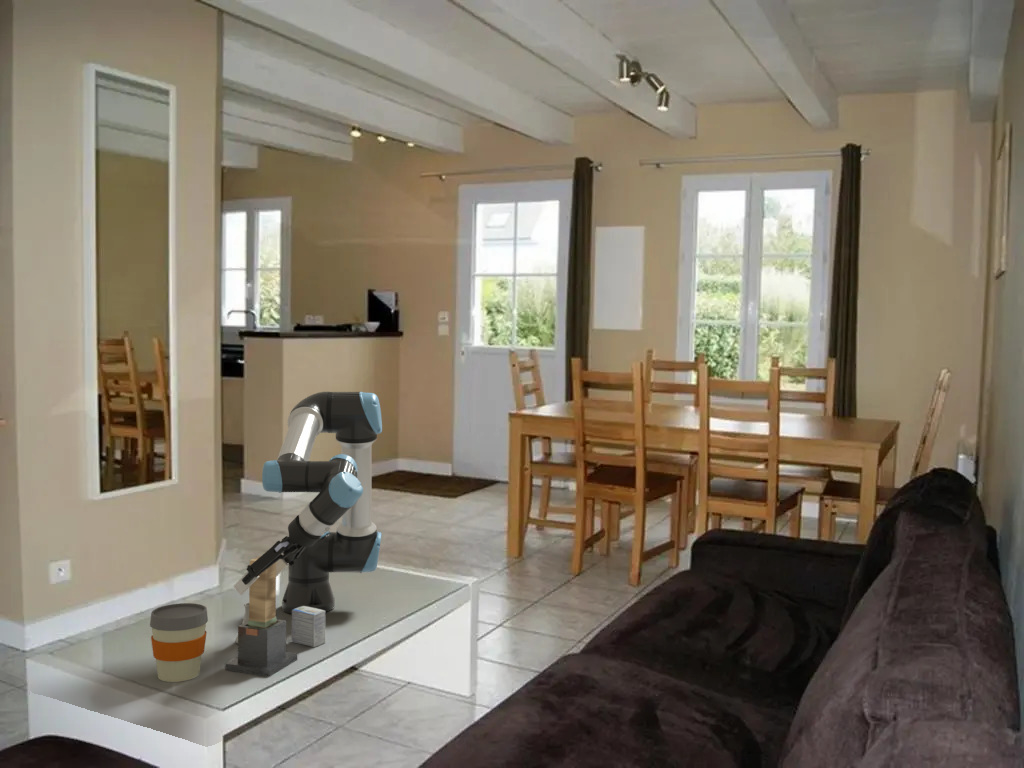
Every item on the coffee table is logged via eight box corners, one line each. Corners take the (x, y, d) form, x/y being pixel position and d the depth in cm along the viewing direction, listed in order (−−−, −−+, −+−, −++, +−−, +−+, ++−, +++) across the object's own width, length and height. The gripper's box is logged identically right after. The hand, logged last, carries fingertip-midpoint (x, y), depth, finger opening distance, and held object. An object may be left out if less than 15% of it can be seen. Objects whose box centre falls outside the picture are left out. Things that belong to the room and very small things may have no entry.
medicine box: (325, 643, 229) (326, 610, 229) (313, 648, 225) (314, 614, 225) (303, 637, 233) (303, 605, 233) (291, 642, 229) (291, 609, 229)
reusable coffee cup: (138, 682, 200) (138, 616, 199) (169, 663, 212) (169, 601, 212) (189, 687, 198) (189, 620, 197) (217, 667, 210) (218, 604, 210)
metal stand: (254, 653, 220) (255, 613, 220) (297, 659, 216) (297, 619, 216) (225, 669, 209) (225, 627, 208) (269, 676, 205) (270, 633, 205)
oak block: (259, 629, 215) (260, 556, 214) (276, 631, 214) (277, 557, 213) (248, 635, 211) (248, 560, 210) (265, 637, 209) (265, 562, 209)
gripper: (292, 547, 195) (232, 609, 201) (345, 527, 218) (289, 583, 223) (272, 522, 197) (212, 583, 202) (326, 505, 219) (271, 560, 225)
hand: (253, 583), depth 213 cm, fingers open, 11 cm apart
